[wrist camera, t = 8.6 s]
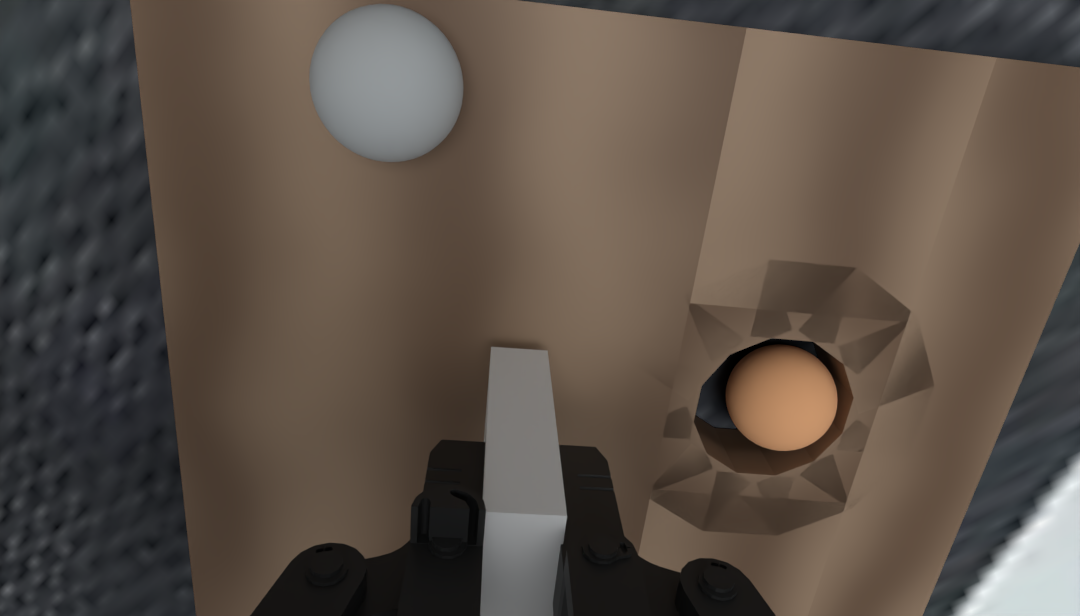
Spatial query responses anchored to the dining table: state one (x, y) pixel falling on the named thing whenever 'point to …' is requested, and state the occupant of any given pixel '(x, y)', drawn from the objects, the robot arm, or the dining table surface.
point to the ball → (781, 397)
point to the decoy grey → (386, 83)
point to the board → (602, 280)
